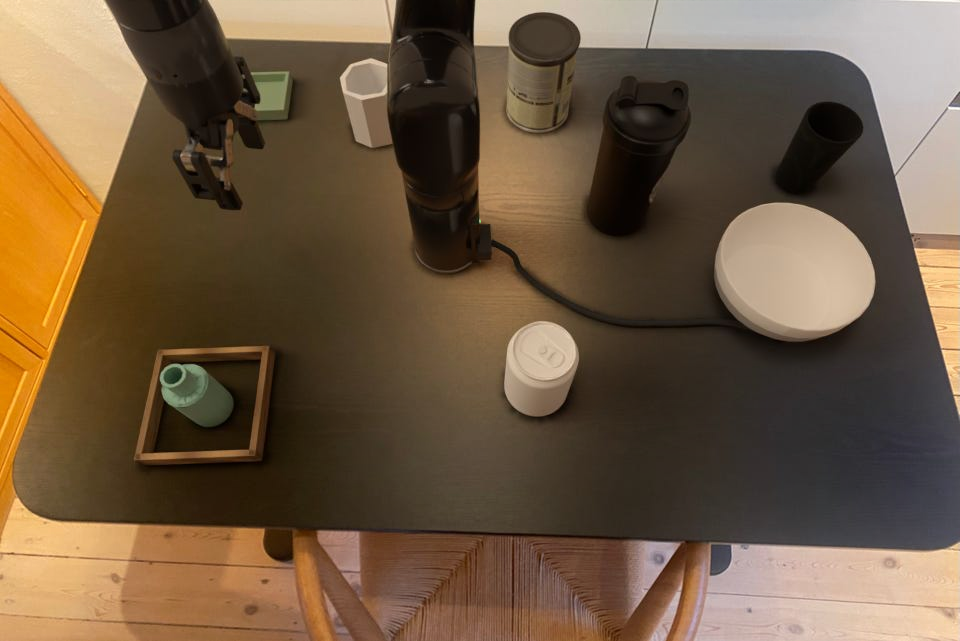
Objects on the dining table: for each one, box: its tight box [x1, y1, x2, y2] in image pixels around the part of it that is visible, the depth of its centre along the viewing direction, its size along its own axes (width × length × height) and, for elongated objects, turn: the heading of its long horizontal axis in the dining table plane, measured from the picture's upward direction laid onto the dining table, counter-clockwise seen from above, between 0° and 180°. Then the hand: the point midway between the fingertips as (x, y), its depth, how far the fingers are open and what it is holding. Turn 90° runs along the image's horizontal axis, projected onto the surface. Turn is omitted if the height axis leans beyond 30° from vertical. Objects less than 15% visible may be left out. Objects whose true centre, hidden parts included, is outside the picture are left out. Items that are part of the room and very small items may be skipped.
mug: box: [339, 57, 393, 149], centre depth 93 cm, size 12×9×10 cm
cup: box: [774, 101, 864, 195], centre depth 87 cm, size 8×8×12 cm
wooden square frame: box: [133, 345, 276, 466], centre depth 75 cm, size 14×14×3 cm
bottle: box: [160, 363, 234, 428], centre depth 71 cm, size 5×5×11 cm
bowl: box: [713, 202, 876, 343], centre depth 79 cm, size 19×19×9 cm
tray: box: [243, 70, 294, 121], centre depth 99 cm, size 9×9×2 cm
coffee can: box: [505, 11, 582, 134], centre depth 93 cm, size 10×10×14 cm
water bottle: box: [586, 75, 692, 237], centre depth 79 cm, size 10×10×23 cm
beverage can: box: [503, 320, 580, 417], centre depth 72 cm, size 8×8×12 cm
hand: (244, 175), depth 66 cm, fingers open, 8 cm apart
